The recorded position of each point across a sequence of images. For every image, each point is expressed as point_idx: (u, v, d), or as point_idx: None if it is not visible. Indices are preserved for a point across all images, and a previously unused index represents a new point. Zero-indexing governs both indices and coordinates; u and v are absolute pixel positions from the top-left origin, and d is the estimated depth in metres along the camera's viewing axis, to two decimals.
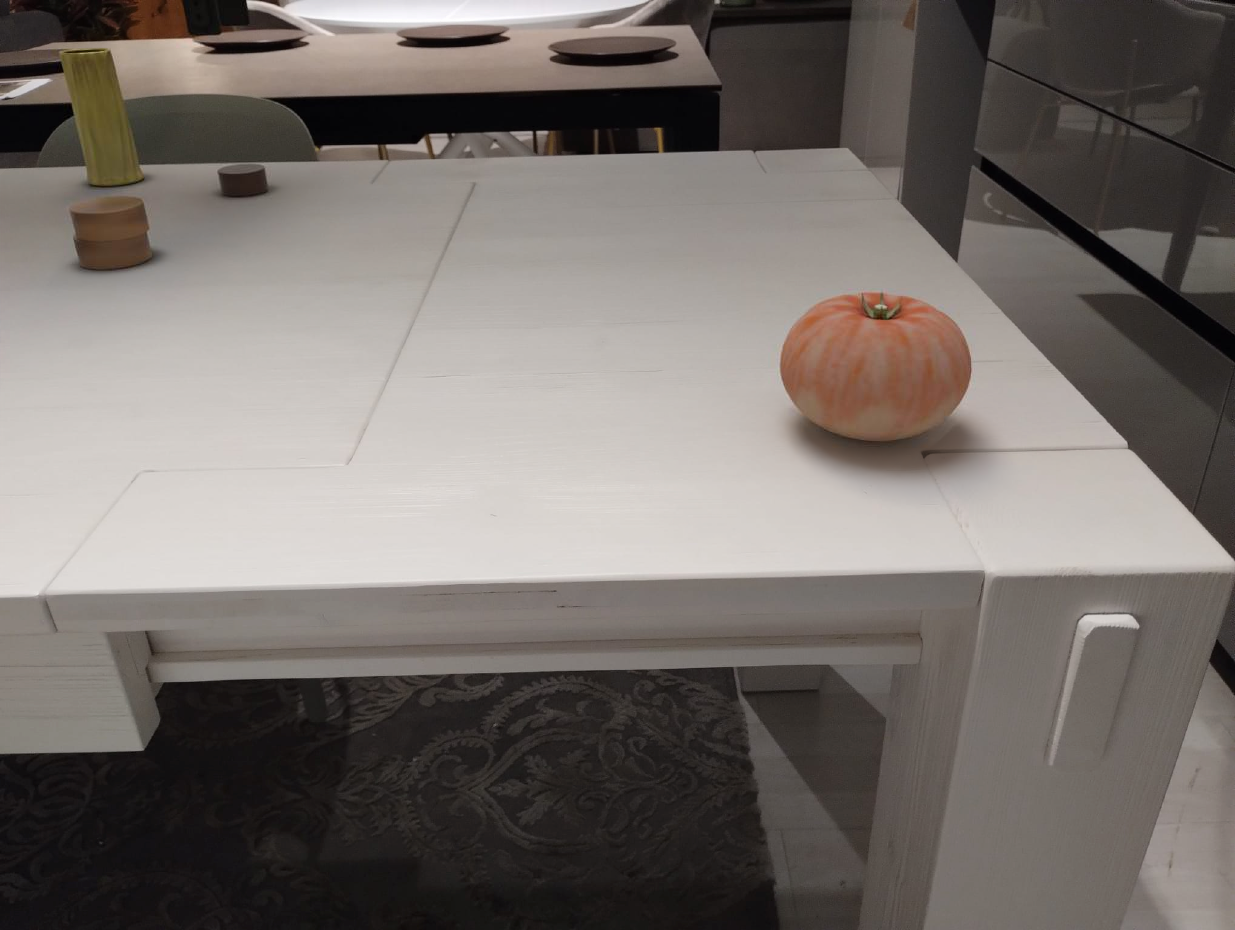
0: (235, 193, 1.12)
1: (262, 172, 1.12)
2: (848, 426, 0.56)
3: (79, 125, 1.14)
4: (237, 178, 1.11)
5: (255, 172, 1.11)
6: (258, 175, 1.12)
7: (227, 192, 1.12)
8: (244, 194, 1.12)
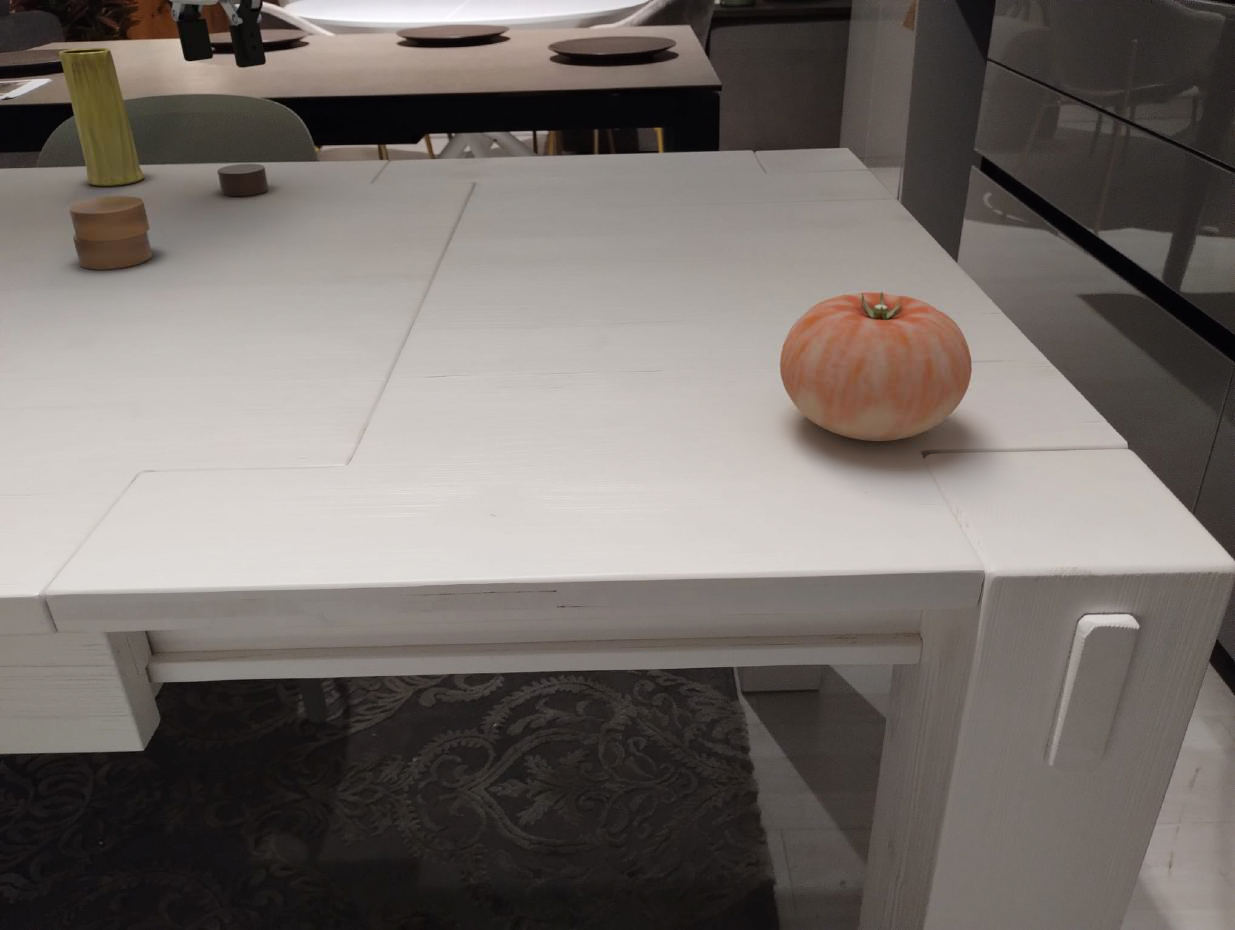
0: (235, 193, 1.12)
1: (262, 172, 1.12)
2: (848, 426, 0.56)
3: (79, 125, 1.14)
4: (237, 178, 1.11)
5: (255, 172, 1.11)
6: (258, 175, 1.12)
7: (227, 192, 1.12)
8: (244, 194, 1.12)
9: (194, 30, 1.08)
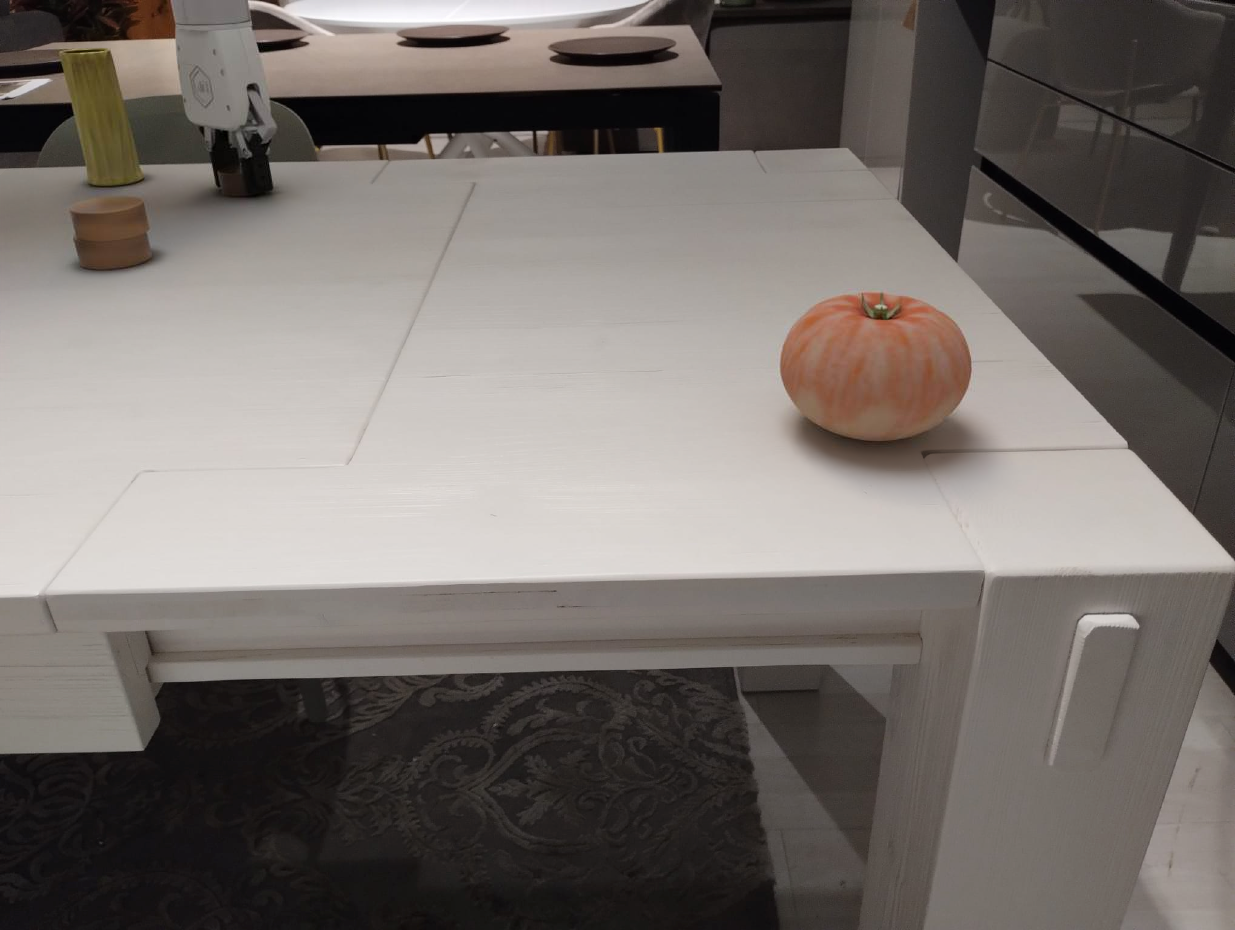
0: (235, 193, 1.12)
1: None
2: (848, 426, 0.56)
3: (79, 125, 1.14)
4: (237, 178, 1.11)
5: None
6: None
7: (227, 192, 1.12)
8: (244, 194, 1.12)
9: (226, 159, 1.14)
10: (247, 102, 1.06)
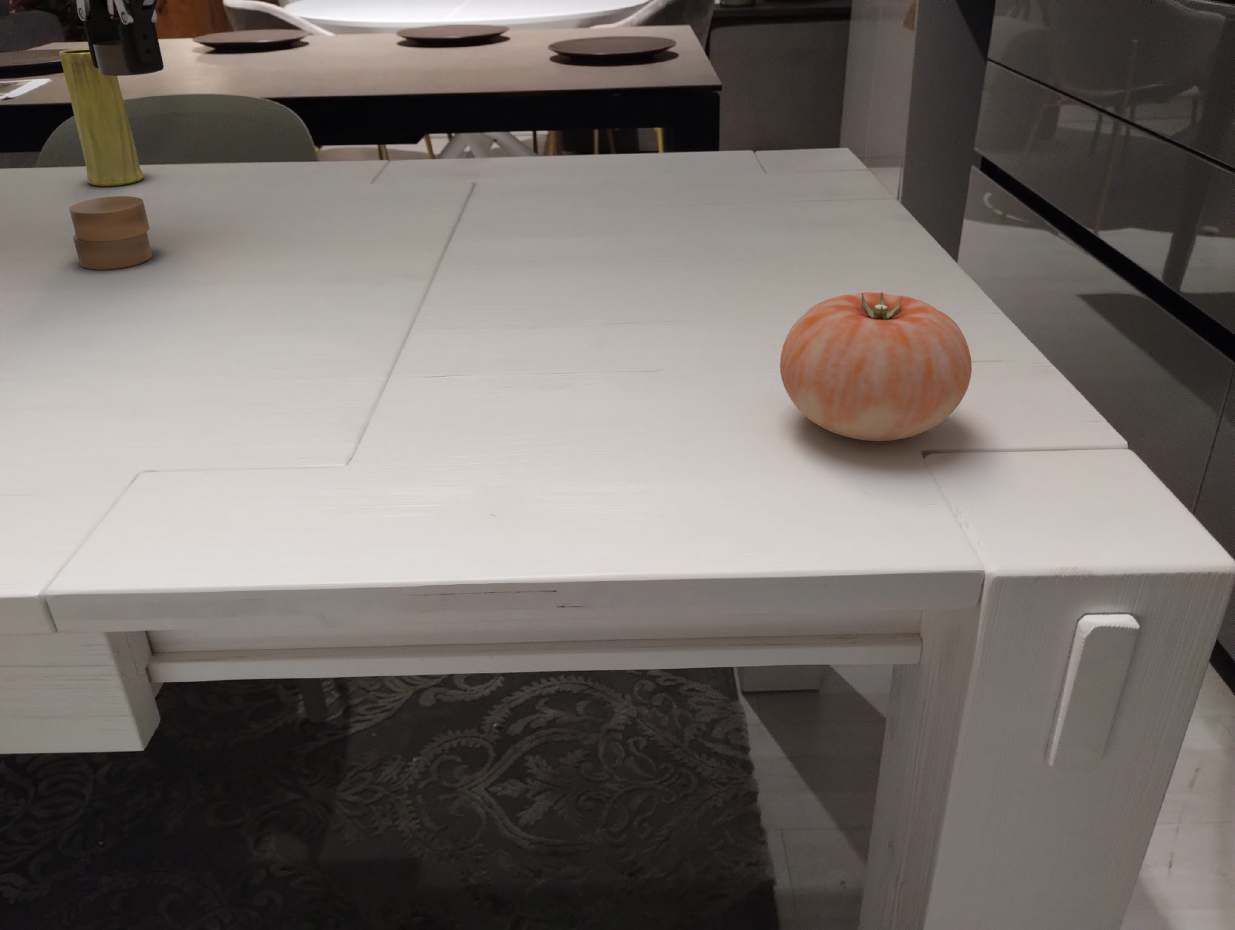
0: (115, 71, 0.90)
1: None
2: (848, 426, 0.56)
3: (79, 125, 1.14)
4: (117, 52, 0.89)
5: None
6: None
7: (105, 70, 0.90)
8: (126, 73, 0.90)
9: (105, 32, 0.92)
10: None
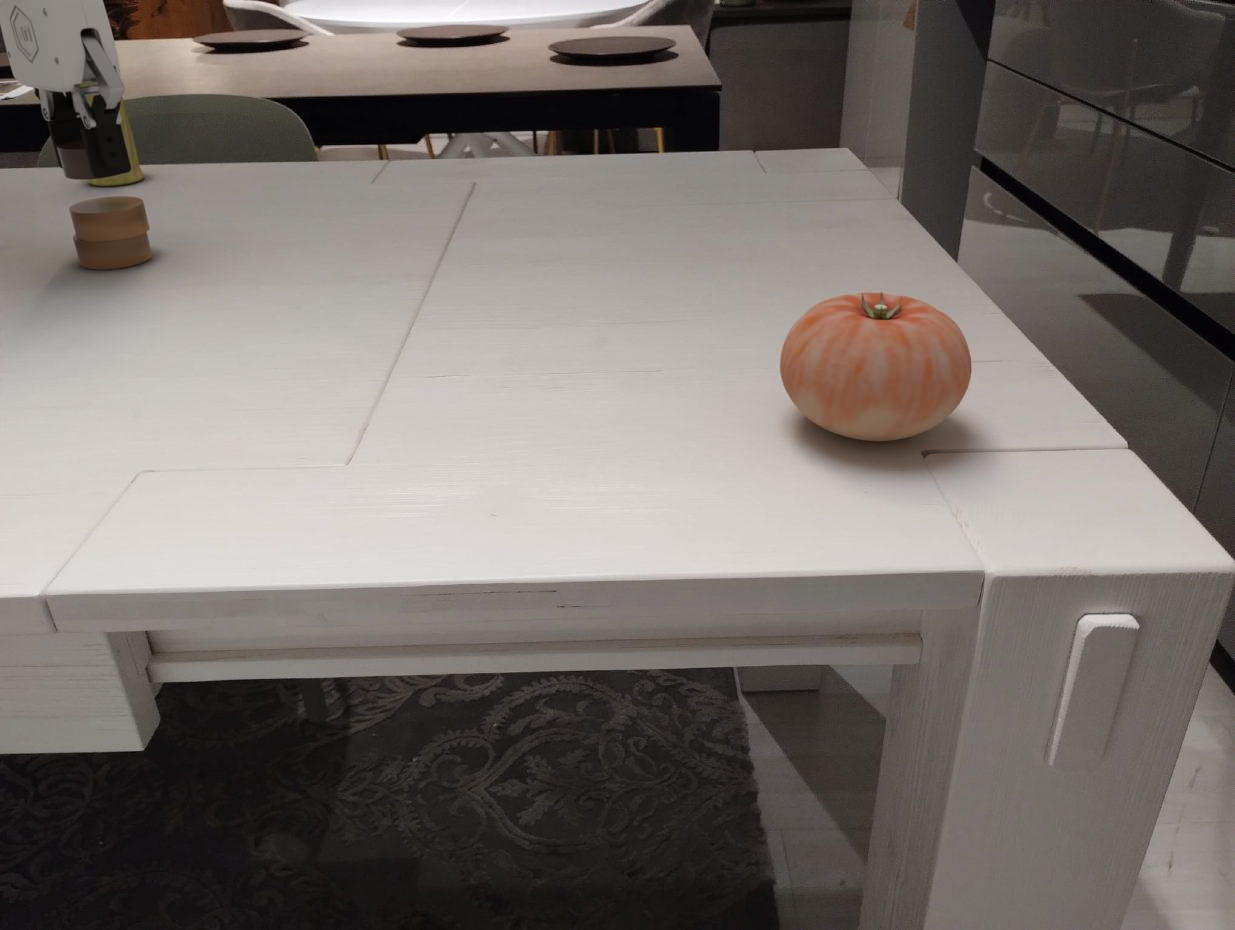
0: (79, 175, 0.86)
1: None
2: (848, 426, 0.56)
3: None
4: (81, 155, 0.85)
5: None
6: None
7: (70, 174, 0.86)
8: (91, 176, 0.86)
9: (71, 132, 0.88)
10: (82, 53, 0.80)
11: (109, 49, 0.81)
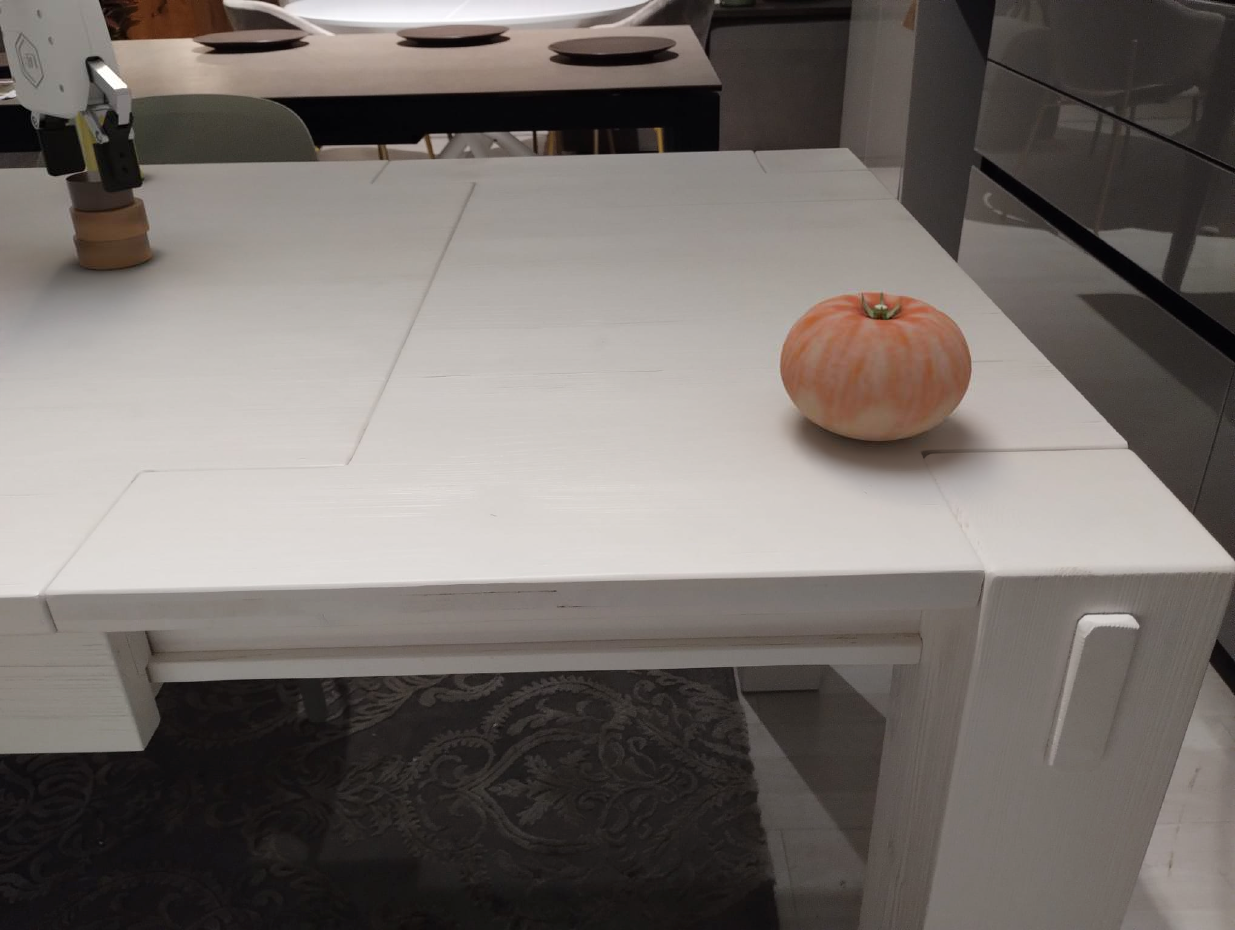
0: (88, 207, 0.87)
1: None
2: (848, 426, 0.56)
3: (79, 125, 1.14)
4: (89, 188, 0.86)
5: None
6: None
7: (78, 206, 0.87)
8: (99, 208, 0.87)
9: (60, 140, 0.89)
10: (87, 80, 0.81)
11: None
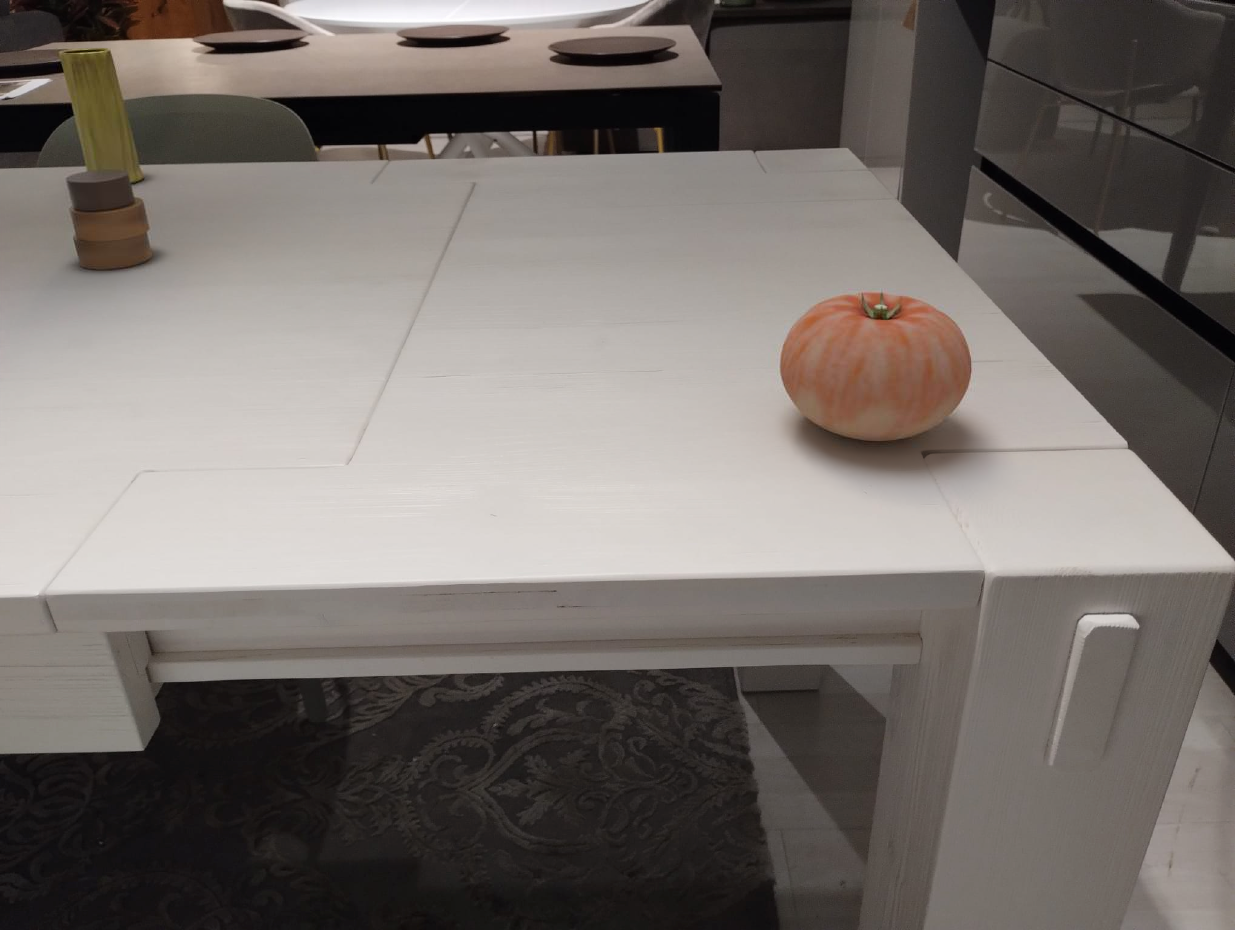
0: (88, 207, 0.87)
1: (123, 181, 0.88)
2: (848, 426, 0.56)
3: (79, 125, 1.14)
4: (89, 188, 0.86)
5: (113, 180, 0.87)
6: (118, 184, 0.87)
7: (78, 206, 0.87)
8: (99, 208, 0.87)
9: None
10: None
11: None
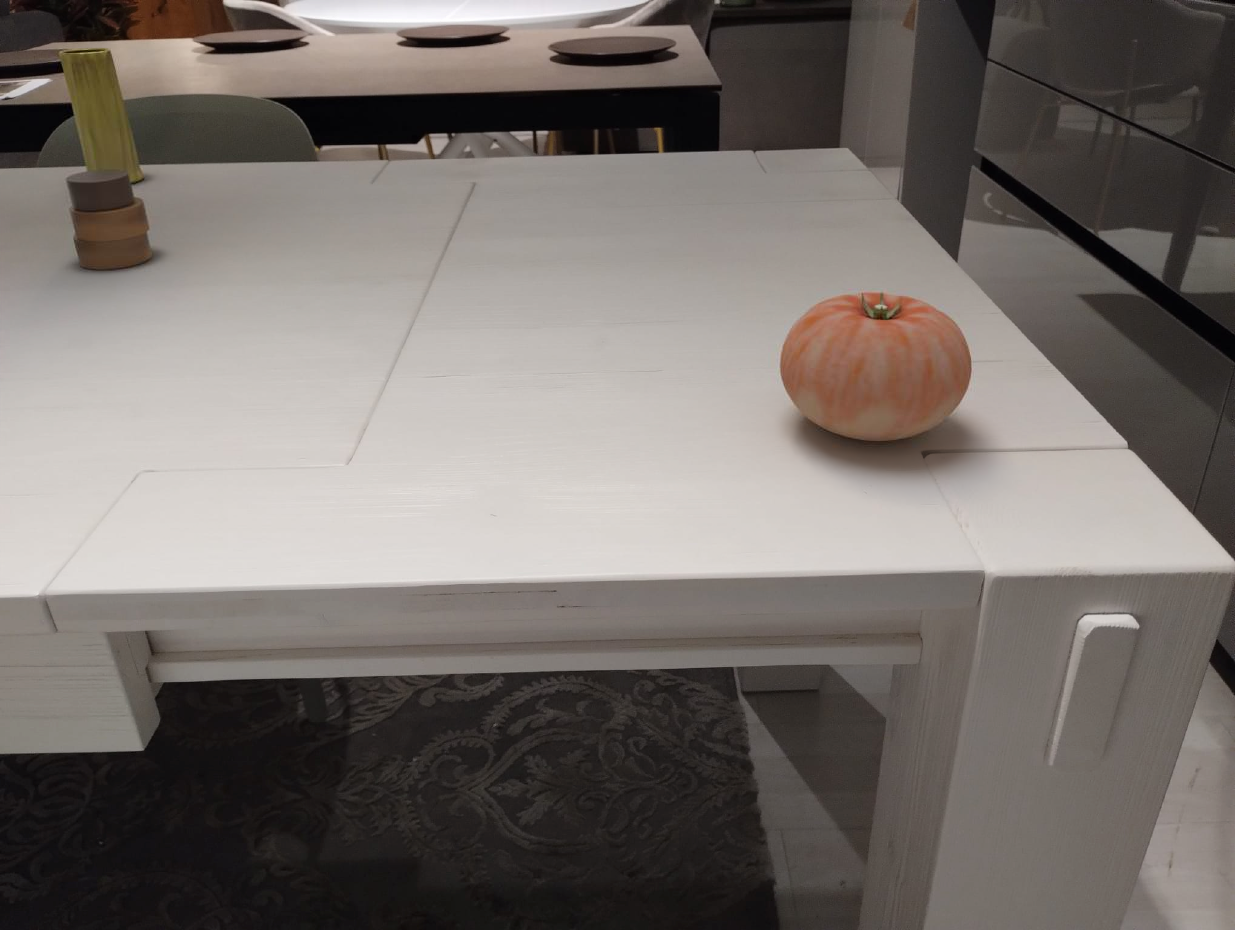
0: (88, 207, 0.87)
1: (123, 181, 0.88)
2: (848, 426, 0.56)
3: (79, 125, 1.14)
4: (89, 188, 0.86)
5: (113, 180, 0.87)
6: (118, 184, 0.87)
7: (78, 206, 0.87)
8: (99, 208, 0.87)
9: None
10: None
11: None
